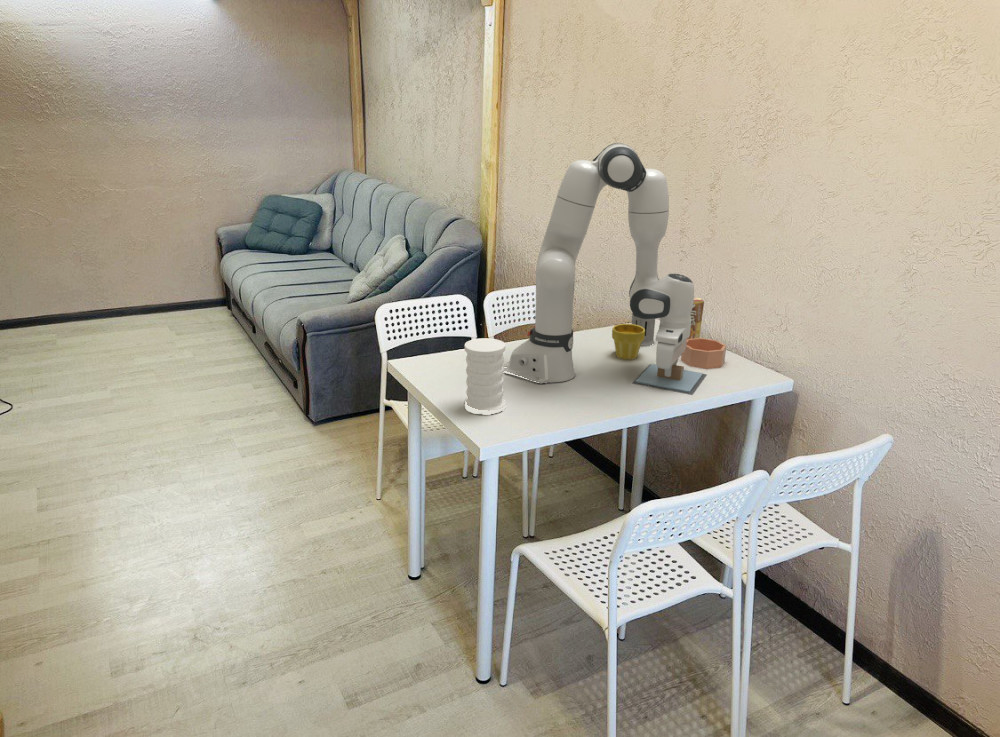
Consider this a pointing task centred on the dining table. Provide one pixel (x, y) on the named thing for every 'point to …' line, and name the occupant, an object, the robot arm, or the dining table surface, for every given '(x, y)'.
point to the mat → (672, 389)
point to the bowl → (704, 353)
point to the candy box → (696, 318)
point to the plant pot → (627, 340)
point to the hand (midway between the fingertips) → (670, 373)
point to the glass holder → (649, 329)
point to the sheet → (670, 378)
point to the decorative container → (485, 373)
